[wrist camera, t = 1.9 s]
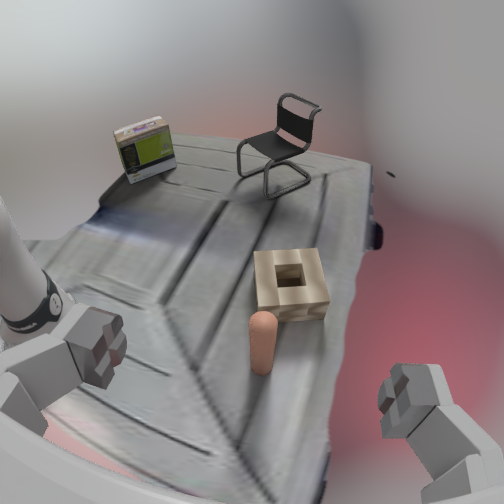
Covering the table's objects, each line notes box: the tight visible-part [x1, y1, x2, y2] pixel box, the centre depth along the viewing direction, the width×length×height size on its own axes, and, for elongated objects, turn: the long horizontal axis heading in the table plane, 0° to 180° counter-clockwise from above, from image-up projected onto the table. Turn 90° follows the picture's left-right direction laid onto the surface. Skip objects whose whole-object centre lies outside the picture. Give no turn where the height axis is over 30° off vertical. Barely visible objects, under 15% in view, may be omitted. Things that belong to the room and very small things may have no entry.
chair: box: [236, 93, 322, 199], centre depth 76 cm, size 13×17×22 cm
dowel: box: [249, 311, 278, 375], centre depth 44 cm, size 4×4×15 cm
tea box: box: [113, 115, 177, 184], centre depth 84 cm, size 15×10×15 cm, turn 120°
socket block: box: [254, 248, 330, 323], centre depth 57 cm, size 12×12×6 cm
